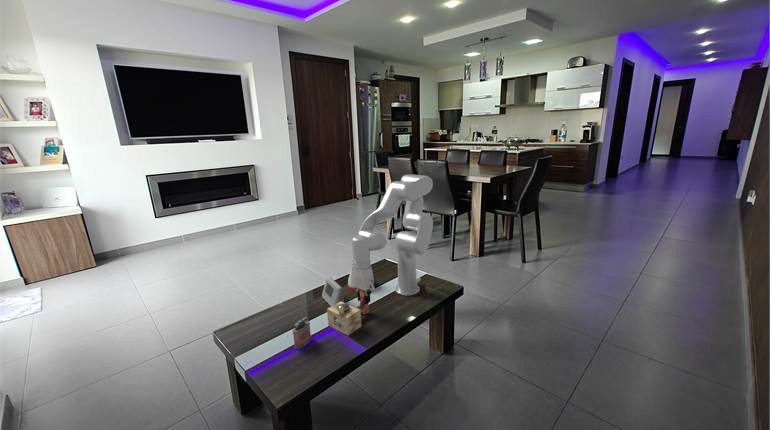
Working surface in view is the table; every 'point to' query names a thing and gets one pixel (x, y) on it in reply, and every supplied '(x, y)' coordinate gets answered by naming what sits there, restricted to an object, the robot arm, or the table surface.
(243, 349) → the table surface
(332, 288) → the digital clock
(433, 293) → the table surface
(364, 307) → the copper head hammer
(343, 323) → the beige block
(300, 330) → the lighter
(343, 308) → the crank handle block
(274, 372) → the table surface
